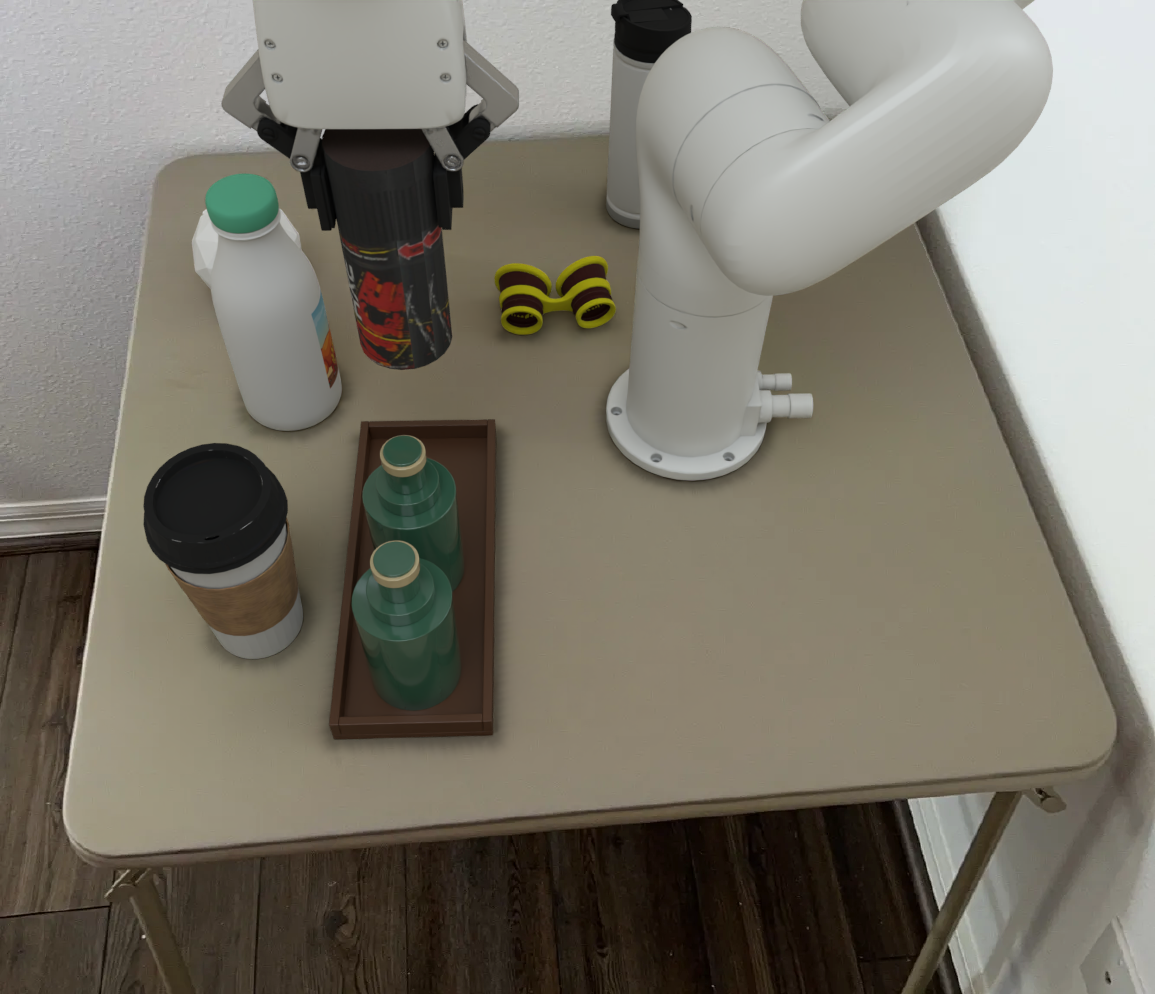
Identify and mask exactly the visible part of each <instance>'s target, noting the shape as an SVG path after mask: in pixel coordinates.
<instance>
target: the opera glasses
mask: <svg viewBox="0 0 1155 994" xmlns="http://www.w3.org/2000/svg"><path fill="white" fill-rule="evenodd" d="M608 264H609V263H608V262H607V260H606V259H605V258H604V257H603V256H599V255H588V256H585V257H582V258H579V259H578V260H576V261H573V262H572V263H570V264H569V265H568V266H567V267H565V268H564V269H563V270H562V271H561V273H560V274H559V275H558V277H557V279H556V281H555V285H554V288H555V292H556V294H557V295H558V297H559V298H558V297H557V298H552V297H550V295H551V294H552V290H553V284H552V283H553V282H552V281H551V278H550V276H548V274H547V273H546V272H544V271H543V270H541V269H539V268H538V267H536V266H534V265H531V264H526V263H521V262H513V263H508V264H504V265H502V266H500V267H499V268H498V269H497V270H496V271H495V273H494V277H493V280H494V281H493V282H494V285H495V288H496V289H497V291H498V292H499V293H500V294H499V296H498V301H499V306H500V307H499V308H500V310H501V311H500V312H501V316H500V324H501V326H502V327H503V329H504V330H505V331H507V332H509V333H511V334H514V335H519V336H527V335H532V334H535V333H537V332H538V331H540V330H541V328H542V326H543V323H544V318H543V316H544V315H545V314H547V313H552V312H560V311H565V312H571V313H572V314H573V316H574V317H575V320H576V324H577V325H578V326H579V327H580V328H583V329H593V328H598V327H600V326H603V325H605V324H606V323H608V322H609V321H611V319H613V318H614V317H615V314H616V311H617V307H616V304H615V302H614V301H613V297H612V288H611V284H610V282H609V281H608V280H607V275H608V271H609V265H608Z"/></svg>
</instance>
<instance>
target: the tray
mask: <svg viewBox="0 0 1155 994" xmlns="http://www.w3.org/2000/svg"><path fill="white" fill-rule="evenodd" d="M359 428H360V429H359V436H358V447H357V456H356V465H355V466H356V467H355V475H354V484H353V494H352V503H351V504H352V505H351V511H350V512H351V513H350V523H349V532H348V541H347V552H346V559H345V569H344V578H343V579H344V581H343V590H342V598H341V607H340V616H339V625H338V636H337V644H336V653H335V654H336V656H335V665H334V674H333V683H332V693H331V701H330V702H331V703H330V712H329V720H328V722H329V723H328V726H329V729H330V731H331V735H332V737H333V740H361V739H362V740H367V739H400V738H401V739H402V738H403V739H408V738H409V739H410V738H411V739H412V738H446V737H447V738H448V737H449V738H450V737H451V738H452V737H483V736H484V737H486V736H494V699H495V698H494V697H495V696H494V695H495V691H494V688H495V685H494V683H495V611H496V609H495V607H496V604H495V603H496V601H495V599H496V597H495V595H496V594H495V593H496V587H495V586H496V518H497V517H496V512H497V511H496V510H497V509H496V506H497V505H496V504H497V503H496V502H497V501H496V500H497V497H496V496H497V425H496V419H495V418H489V419H487V418H486V419H426V420H425V419H424V420H423V419H421V420H419V419H418V420H361V421H360V427H359ZM400 435H409V436H413V437H415V438H417V439H419V440H420V441H421V442H422V443H423V444H424V446H425V450H426V457H427V458H430V459H432V460H435V461H437V462H439V463H440V464H442V465H443V466H444V467H445V468H446V469H447V470H448V471H449V472H450V473H451V475H452V476H453V478H454V481H455V485H456V491H457V500H458V509H459V518H460V527H461V536H462V545H463V554H464V562H465V570H464V575H463V578H462V580H461V582H460V584H459V585H458V587H457V588H456V589H455V590H454V591H453V592H452V595H453V603H454V610H455V618H456V625H457V633H458V640H459V648H460V655H461V663H462V671H461V676H460V680H459V682H458V684H457V686H456V688H455V689H454V691H453V692H452V693H451V694H450V695H449V696H448V697H447V698H446V699H445V700H444V701H442V702H441V703H439V704H437V705H435V706H433V707H431V708H428V709H423V710H416V711H409V710H402V709H399V708H396V707H393V706H391V705H389V704H388V703H386V702H385V701H384V700H382V699H381V698H380V696H379V695H378V694H377V692H376V691H375V689H374V687H373V684H372V681H371V677H370V673H369V670H368V666H367V662H366V659H365V655H364V651H363V648H362V644H361V640H360V637H359V633H358V629H357V625H356V622H355V618H354V614H353V611H352V595H353V591H354V588H355V586H356V584H357V582H358V581H359V579H360V578H361V577H362V575H363V574H364V573H365V572H366V571H367V570H369V569H370V568H371V567H370V558H371V555H372V553H373V552H374V549H373V545H372V540H371V536H370V531H369V527H368V523H367V518H366V514H365V509H364V505H363V499H362V493H363V488H364V485H365V483H366V481H367V479H368V477H369V476H370V475H371V473H372V472H373V471H374V470H375V469H377V468H378V467H379V466H381V465H382V464H381V459H380V450H381V448H382V446H383V445H384V443H385V442H386V441H388V440H389V439H391V438H393V437H395V436H400Z"/></svg>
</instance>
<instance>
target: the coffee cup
mask: <svg viewBox="0 0 1155 994" xmlns="http://www.w3.org/2000/svg"><path fill="white" fill-rule="evenodd" d="M288 501H289V500H288V498H287V493H286V491H285V489H284V487H283V485H282V484H281V482H280V480H279V479H278V477H277V475H276V474H275V473H274V472H273V471H272V470H271V469H270V468H269V467H268V466H266V464H265V462H264V461H263V460H262V459H261V458H260V457H259V456H258V455H257V454H256V453H254V452H252V451H251V450H249V449H248V448H245V447H242V446H240V445H237V444H232V443H226V442H225V443H223V442H210V443H203V444H199V445H195V446H192V447H189V448H187V449H184V450H183V451H180V452H178V453H176V454H175V455H173V456H172V457H171V458H169V459H167V460H166V461H165V462H164V463H163V464H162V465H160V467H158V469H157V470H156V471H155V472H154V474H153V475H152V476H151V479H150V480H149V482H148V484H147V486H146V488H145V492H144V495H143V507H142V508H143V530H144V534H145V539H146V542H147V544H148V546H149V548H150V550H151V552H152V553H153V554H154V555H155V557H156V558H157V559H158V560H160V562H162V563H164V564H165V566H166V568H167V570H168V571H169V573H170V574H171V576H172V577H173V578H174V580H175V581H176V583H177V584H178V586H179V587H180V588H181V590H182V591H183V592H184V594H185V596H186V597H187V599H188V600H189V602H191V604H192V606H194V608H195V609H196V611H197V612H198V613H199V615H200V616H201V618H202V620H204V622H205V623H206V624H207V626H208V627H209V629H210V630H211V631H212V633H213V635H214V636H215V638H216V640H217V641H218V643H219V644H220V645H221V646H222V647H223V648H224V650H226V651H227V652H228V653H229V654H231V655H233V656H236V657H238V658H241V659H246V660H259V659H266V658H268V657H272V656H275V655H276V654H278V653H281V652H282V651H283V650H285V649H286V648H288V647H289V646H290V645H291V644H292V643H293V641H295V639H296V638H297V637H298V635H299V633H300V631H301V629H302V626H303V622H304V611H303V610H304V609H303V604H302V599H301V593H300V589H299V580H298V573H297V567H296V561H295V553H294V549H293V548H294V547H293V541H292V535H291V530H290V523H289V519H288V514H289V502H288Z"/></svg>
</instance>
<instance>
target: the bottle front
mask: <svg viewBox="0 0 1155 994" xmlns="http://www.w3.org/2000/svg"><path fill="white" fill-rule="evenodd" d="M370 567H371V568H370V569H369V570H367V571H366V572H365V573H364V574H363V575H362V577H361V578H360V579H359V581H358V582H357V584H356V586H355V588H354V591H353V595H352V611H353V614H354V618H355V622H356V625H357V629H358V633H359V637H360V640H361V644H362V648H363V651H364V655H365V659H366V662H367V666H368V670H369V673H370V677H371V681H372V684H373V687H374V689H375V691H376V692H377V694H378V695H379V696H380V698H381V699H382V700H384V701H385V702H386V703H388V704H389V705H391V706H393V707H396V708H399V709H402V710H409V711H416V710H423V709H428V708H431V707H433V706H435V705H437V704H439V703H441V702H442V701H444V700H445V699H446V698H447V697H448V696H449V695H450V694H451V693H452V692H453V691H454V689H455V688H456V686H457V684H458V682H459V680H460V676H461V671H462V663H461V655H460V648H459V640H458V633H457V625H456V618H455V610H454V603H453V595H452V589H451V585H450V582H449V580H448V578H447V576H446V575H445V574H444V572H443V571H442V570H441V569H440V568H439V567H437V566H436V565H435V564H433V563H431V562H429V561H427V560H424V559H421V558H419V555H418V552H417V550H416V549H415V548H414V547H413V546H412V545H411V544H409V543H407V542H404V541H389V542H386V543H384V544H382V545H380V546H379V547H377V548H376V549H375V551H374V552H373V553H372V555H371V558H370Z"/></svg>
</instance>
